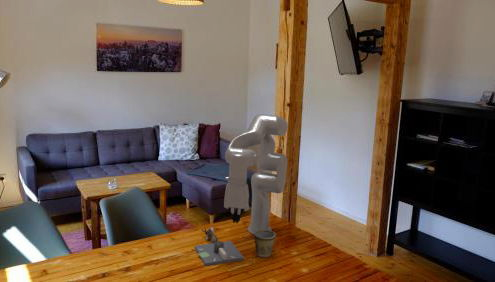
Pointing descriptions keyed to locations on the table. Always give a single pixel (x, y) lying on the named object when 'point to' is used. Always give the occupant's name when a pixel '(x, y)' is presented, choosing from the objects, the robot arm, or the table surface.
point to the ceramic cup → (264, 242)
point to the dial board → (213, 258)
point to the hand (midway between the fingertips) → (236, 221)
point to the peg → (220, 249)
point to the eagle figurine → (210, 235)
